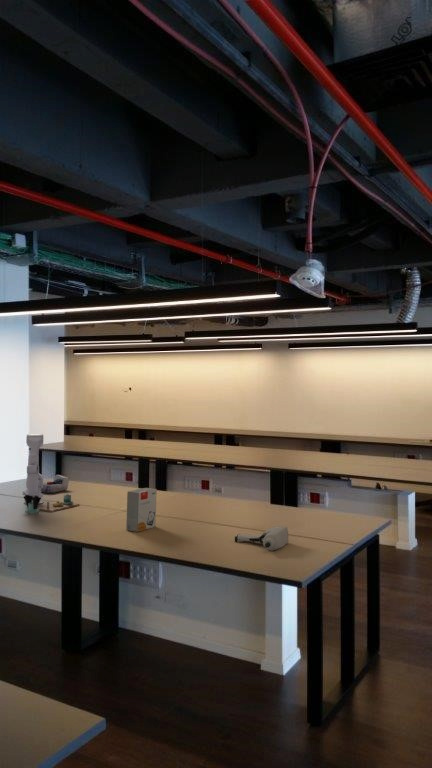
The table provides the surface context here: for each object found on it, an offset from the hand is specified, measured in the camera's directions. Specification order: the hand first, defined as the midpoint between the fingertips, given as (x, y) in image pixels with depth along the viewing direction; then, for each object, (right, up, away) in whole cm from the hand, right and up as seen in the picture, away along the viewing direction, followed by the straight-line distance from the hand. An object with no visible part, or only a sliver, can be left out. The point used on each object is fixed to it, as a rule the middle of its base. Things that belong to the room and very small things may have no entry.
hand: (32, 508), depth 332 cm
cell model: (-6, -3, +65) cm, 65 cm away
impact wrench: (+126, -4, -64) cm, 141 cm away
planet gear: (0, -2, 0) cm, 2 cm away
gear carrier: (+11, -2, +13) cm, 17 cm away
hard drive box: (+68, -3, -35) cm, 76 cm away
